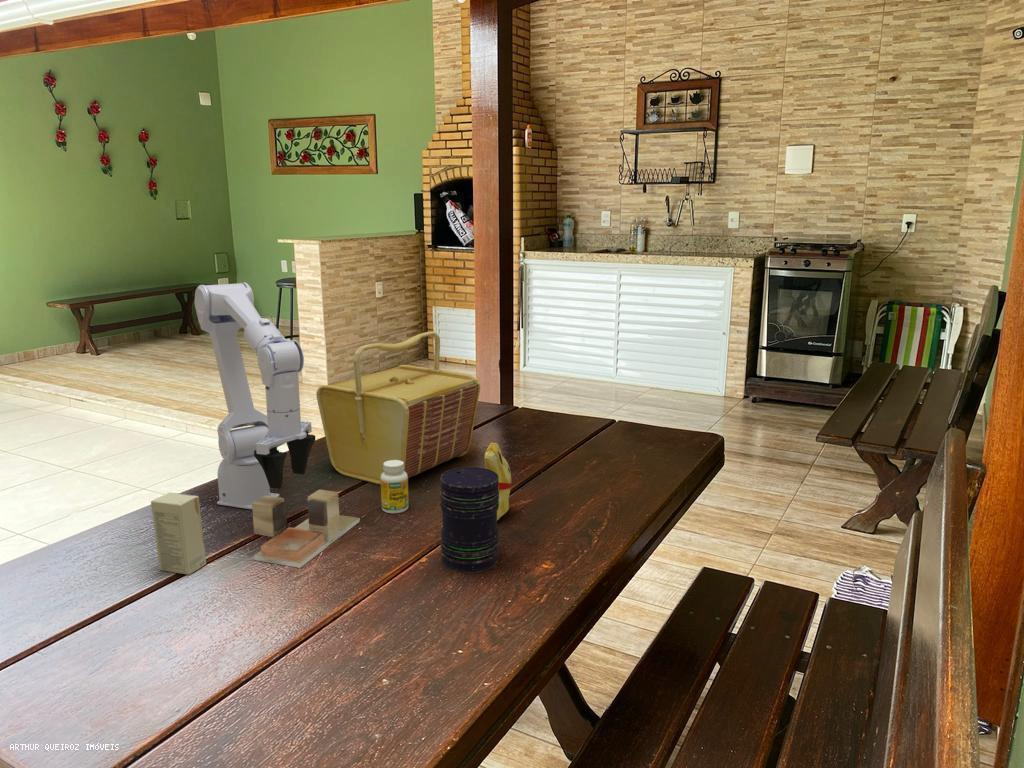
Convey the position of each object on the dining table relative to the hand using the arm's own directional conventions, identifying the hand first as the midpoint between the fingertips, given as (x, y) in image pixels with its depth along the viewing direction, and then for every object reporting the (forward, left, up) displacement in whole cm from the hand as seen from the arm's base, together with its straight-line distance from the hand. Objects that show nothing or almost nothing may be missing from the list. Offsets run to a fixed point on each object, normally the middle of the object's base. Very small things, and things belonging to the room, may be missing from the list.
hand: (287, 480), depth 139 cm
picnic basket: (+4, +39, -10) cm, 40 cm away
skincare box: (-8, -19, -10) cm, 23 cm away
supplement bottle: (+14, +15, -10) cm, 23 cm away
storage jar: (+36, -1, -10) cm, 37 cm away
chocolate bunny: (+33, +18, -10) cm, 39 cm away
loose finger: (-3, -2, -10) cm, 10 cm away
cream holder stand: (+6, -3, -10) cm, 12 cm away
